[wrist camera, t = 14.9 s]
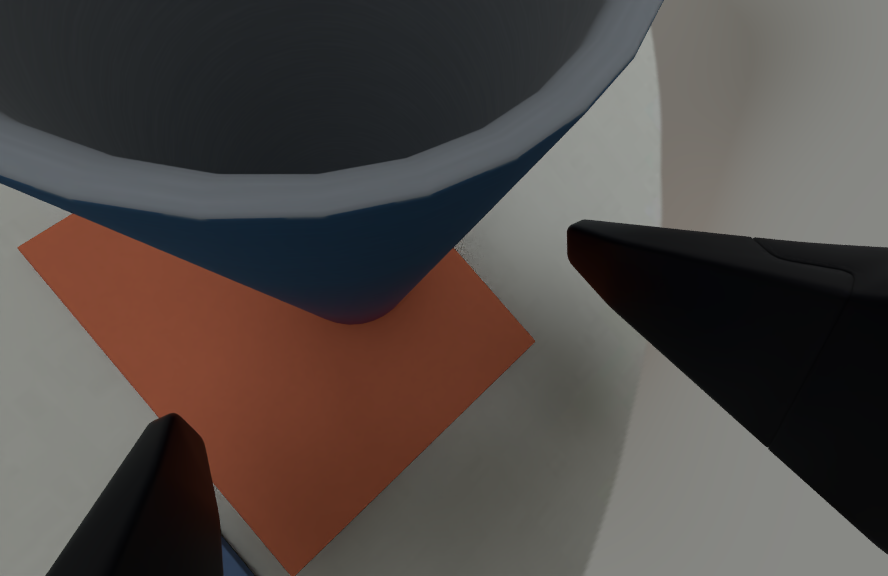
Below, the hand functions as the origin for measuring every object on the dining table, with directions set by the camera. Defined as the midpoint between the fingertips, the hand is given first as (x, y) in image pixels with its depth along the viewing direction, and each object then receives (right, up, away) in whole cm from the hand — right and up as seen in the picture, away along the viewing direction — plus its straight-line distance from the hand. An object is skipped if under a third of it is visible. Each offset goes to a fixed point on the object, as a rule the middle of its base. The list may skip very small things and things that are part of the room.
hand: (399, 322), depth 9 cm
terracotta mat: (-5, 0, +8) cm, 10 cm away
